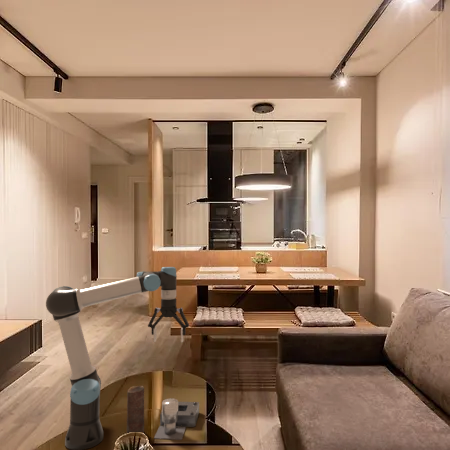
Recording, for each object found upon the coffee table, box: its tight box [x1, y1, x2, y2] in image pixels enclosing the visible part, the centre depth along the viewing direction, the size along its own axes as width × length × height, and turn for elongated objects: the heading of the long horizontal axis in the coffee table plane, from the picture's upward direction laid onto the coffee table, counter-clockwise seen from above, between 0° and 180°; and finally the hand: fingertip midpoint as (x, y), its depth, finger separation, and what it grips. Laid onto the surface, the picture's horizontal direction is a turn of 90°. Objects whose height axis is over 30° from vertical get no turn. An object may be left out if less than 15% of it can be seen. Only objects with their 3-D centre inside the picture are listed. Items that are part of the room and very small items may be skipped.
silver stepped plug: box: [161, 397, 179, 435], centre depth 159 cm, size 7×7×13 cm
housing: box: [159, 401, 200, 428], centre depth 172 cm, size 16×14×6 cm
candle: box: [126, 385, 145, 434], centre depth 158 cm, size 8×7×20 cm
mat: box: [153, 425, 187, 441], centre depth 159 cm, size 12×10×1 cm
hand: (168, 341), depth 179 cm, fingers open, 13 cm apart
